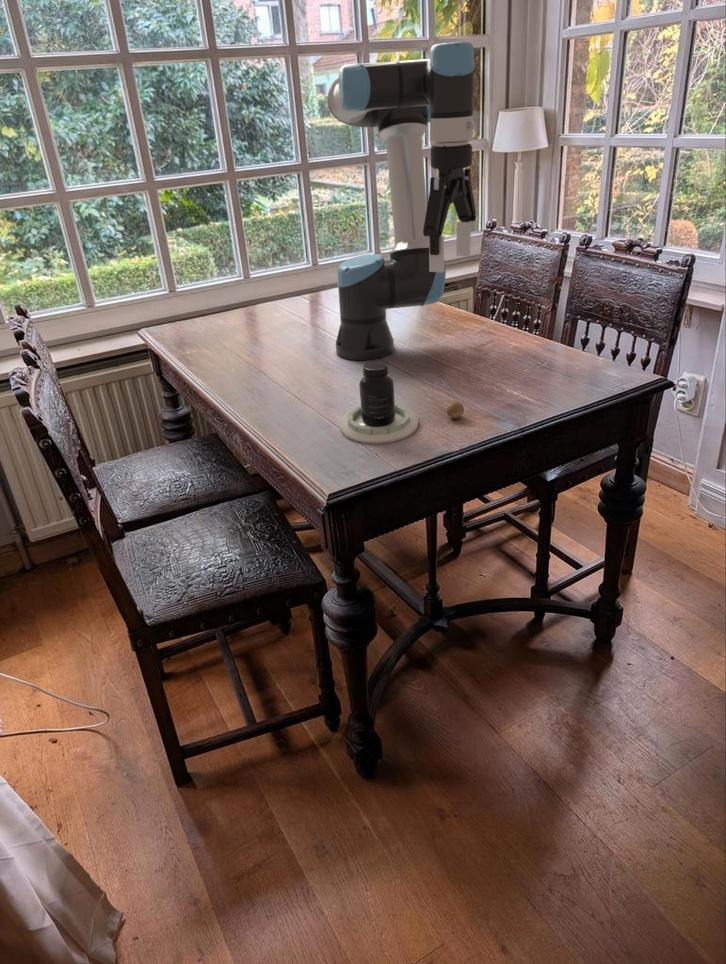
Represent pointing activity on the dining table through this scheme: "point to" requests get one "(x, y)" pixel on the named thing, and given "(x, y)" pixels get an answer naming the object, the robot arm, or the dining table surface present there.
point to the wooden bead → (455, 410)
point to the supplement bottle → (377, 395)
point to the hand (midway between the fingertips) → (450, 263)
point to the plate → (395, 431)
